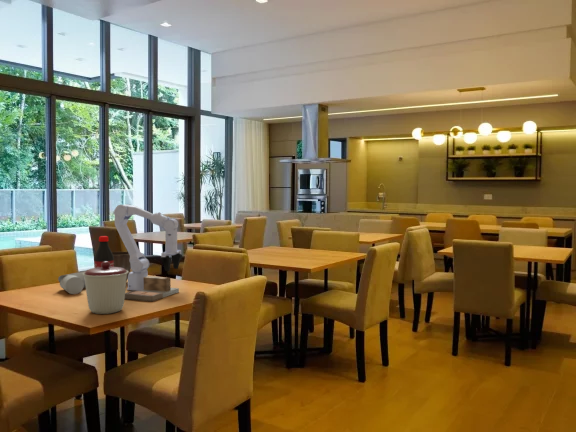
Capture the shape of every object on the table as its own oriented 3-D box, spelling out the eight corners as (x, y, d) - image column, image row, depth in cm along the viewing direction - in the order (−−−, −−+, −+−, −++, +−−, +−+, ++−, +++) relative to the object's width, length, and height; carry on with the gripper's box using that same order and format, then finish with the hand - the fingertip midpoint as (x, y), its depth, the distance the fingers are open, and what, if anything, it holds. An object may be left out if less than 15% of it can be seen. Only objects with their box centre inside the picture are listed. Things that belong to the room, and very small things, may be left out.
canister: (135, 312, 216) (134, 262, 215) (89, 319, 206) (88, 265, 205) (121, 304, 231) (120, 257, 230) (78, 310, 220) (77, 260, 219)
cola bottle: (96, 305, 229) (94, 237, 227) (93, 301, 237) (92, 235, 235) (116, 303, 233) (115, 236, 231) (113, 299, 240) (111, 234, 239)
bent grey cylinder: (52, 286, 267) (60, 293, 250) (56, 266, 267) (65, 271, 251) (87, 290, 277) (98, 296, 260) (91, 270, 278) (102, 275, 261)
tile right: (141, 298, 242) (141, 294, 242) (149, 295, 247) (149, 292, 247) (152, 299, 240) (152, 295, 239) (159, 296, 245) (159, 293, 245)
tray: (123, 298, 243) (123, 293, 243) (134, 295, 250) (134, 290, 250) (152, 301, 237) (152, 296, 237) (162, 298, 245) (162, 292, 245)
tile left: (128, 297, 244) (128, 293, 244) (136, 294, 250) (136, 290, 250) (139, 298, 242) (139, 294, 242) (147, 295, 248) (147, 291, 248)
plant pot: (98, 283, 283) (98, 253, 282) (121, 279, 295) (121, 250, 294) (116, 286, 274) (115, 255, 273) (139, 281, 286) (138, 252, 286)
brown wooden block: (143, 289, 255) (143, 277, 255) (148, 288, 258) (147, 276, 258) (166, 291, 250) (166, 279, 250) (170, 290, 253) (170, 277, 253)
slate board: (135, 295, 250) (135, 291, 250) (153, 290, 263) (153, 286, 263) (162, 297, 245) (162, 293, 245) (178, 292, 258) (178, 288, 258)
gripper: (169, 244, 253) (170, 272, 254) (186, 241, 267) (186, 268, 268) (157, 244, 256) (157, 271, 257) (174, 241, 270) (174, 267, 270)
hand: (171, 269), depth 262 cm, fingers open, 7 cm apart
